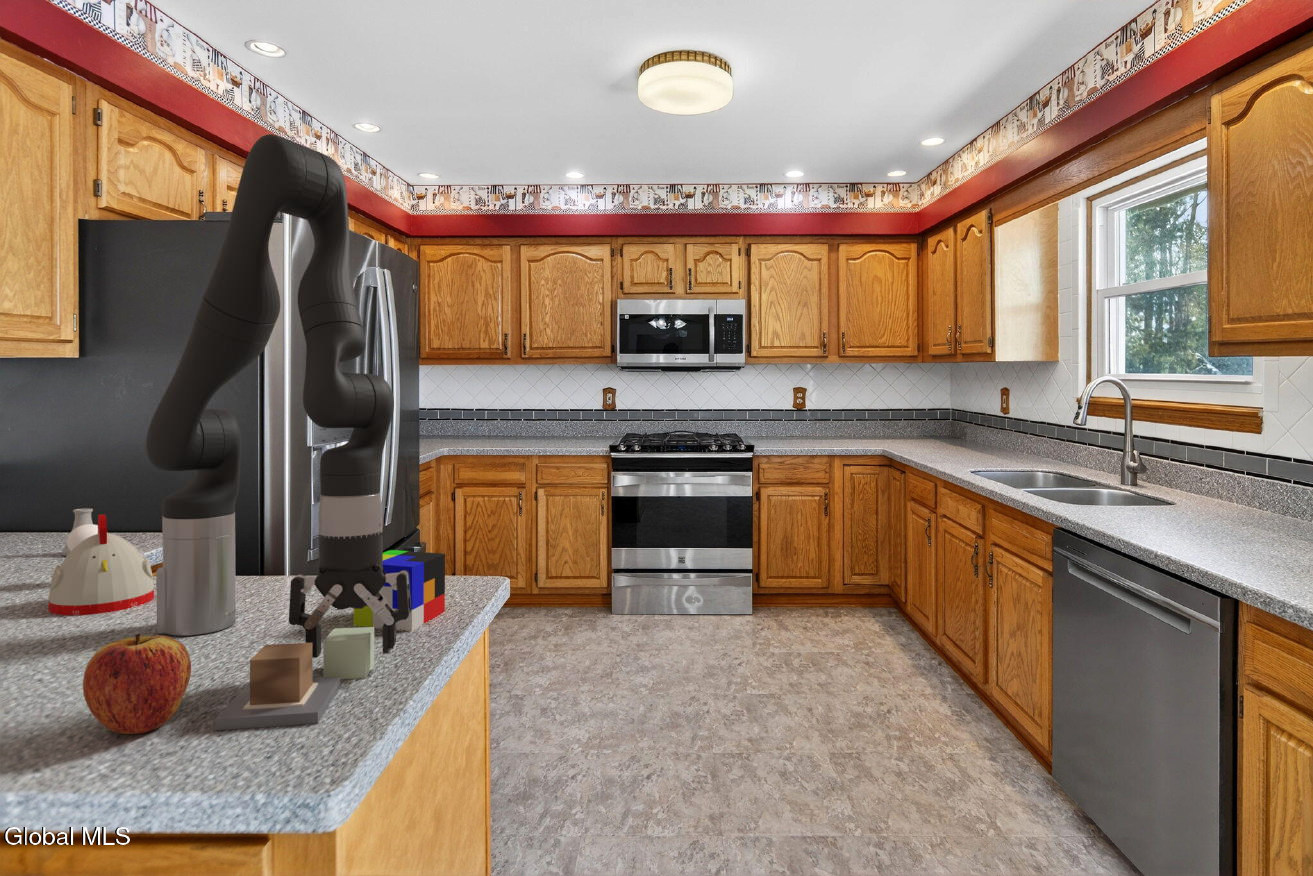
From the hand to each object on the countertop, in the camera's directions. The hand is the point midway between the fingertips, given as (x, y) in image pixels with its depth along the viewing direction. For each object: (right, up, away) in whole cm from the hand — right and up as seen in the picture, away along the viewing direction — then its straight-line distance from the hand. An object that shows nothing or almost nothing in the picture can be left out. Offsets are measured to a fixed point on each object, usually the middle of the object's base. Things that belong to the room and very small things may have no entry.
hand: (352, 653), depth 89 cm
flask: (-87, +2, +64) cm, 108 cm away
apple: (-15, -3, -16) cm, 23 cm away
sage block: (0, -2, 0) cm, 2 cm away
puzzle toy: (-2, -2, +22) cm, 23 cm away
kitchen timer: (-54, 0, +28) cm, 61 cm away
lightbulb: (-67, +1, +40) cm, 78 cm away
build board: (-3, -3, -11) cm, 11 cm away
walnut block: (-3, -1, -11) cm, 11 cm away
